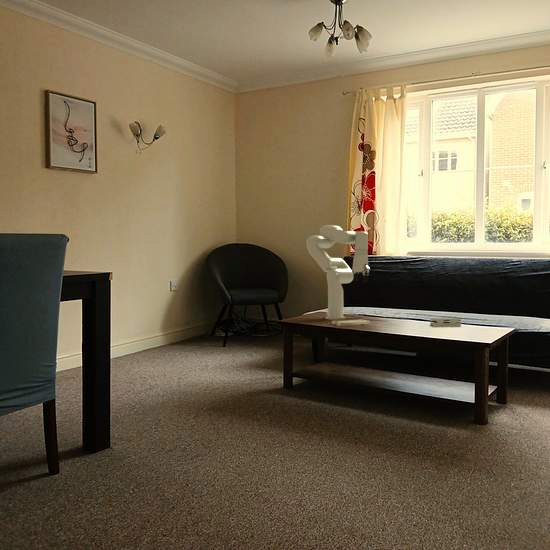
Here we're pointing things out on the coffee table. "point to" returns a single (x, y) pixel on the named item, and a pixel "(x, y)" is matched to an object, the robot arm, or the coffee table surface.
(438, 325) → the grey rounded slab
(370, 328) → the coffee table surface
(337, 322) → the cabinet panel
